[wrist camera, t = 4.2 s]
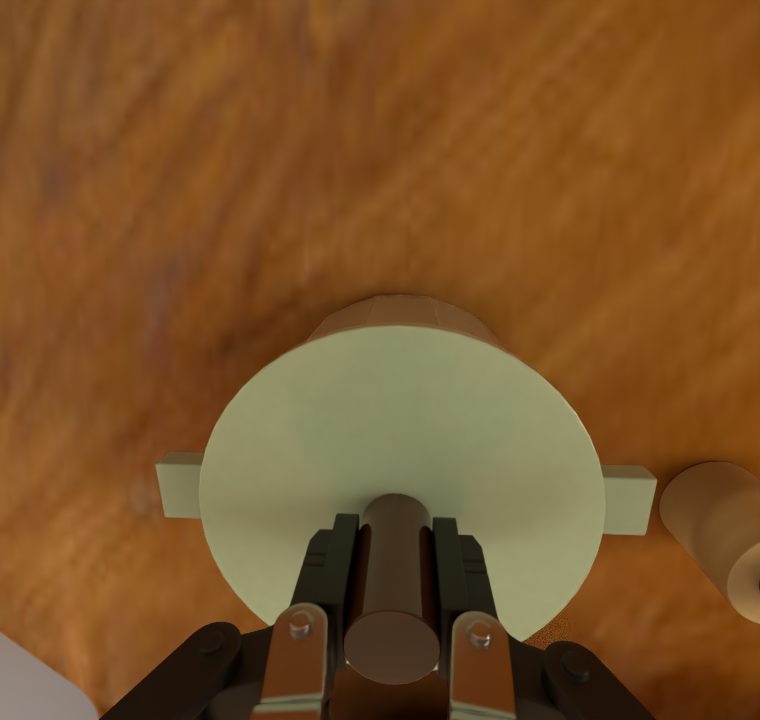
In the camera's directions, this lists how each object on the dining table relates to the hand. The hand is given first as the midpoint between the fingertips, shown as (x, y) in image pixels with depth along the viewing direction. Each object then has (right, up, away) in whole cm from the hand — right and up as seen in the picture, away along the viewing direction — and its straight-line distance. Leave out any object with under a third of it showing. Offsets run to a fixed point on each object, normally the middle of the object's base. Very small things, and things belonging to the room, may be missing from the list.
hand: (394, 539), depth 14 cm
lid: (0, 0, +1) cm, 1 cm away
